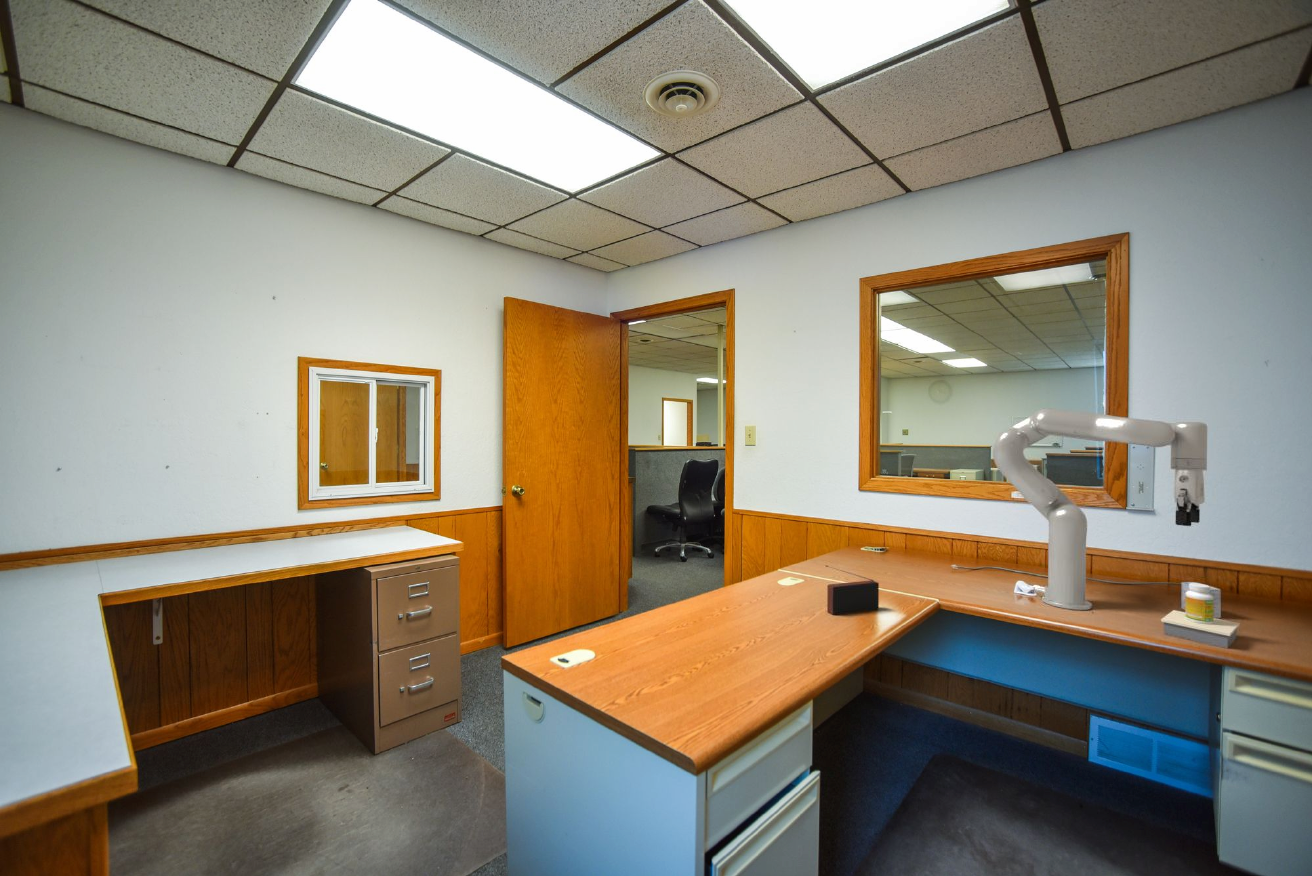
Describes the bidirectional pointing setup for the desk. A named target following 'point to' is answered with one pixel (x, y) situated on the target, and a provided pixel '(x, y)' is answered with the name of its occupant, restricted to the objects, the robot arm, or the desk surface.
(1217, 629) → the base block
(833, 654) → the desk surface
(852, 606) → the radio
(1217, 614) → the medicine box
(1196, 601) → the supplement bottle
